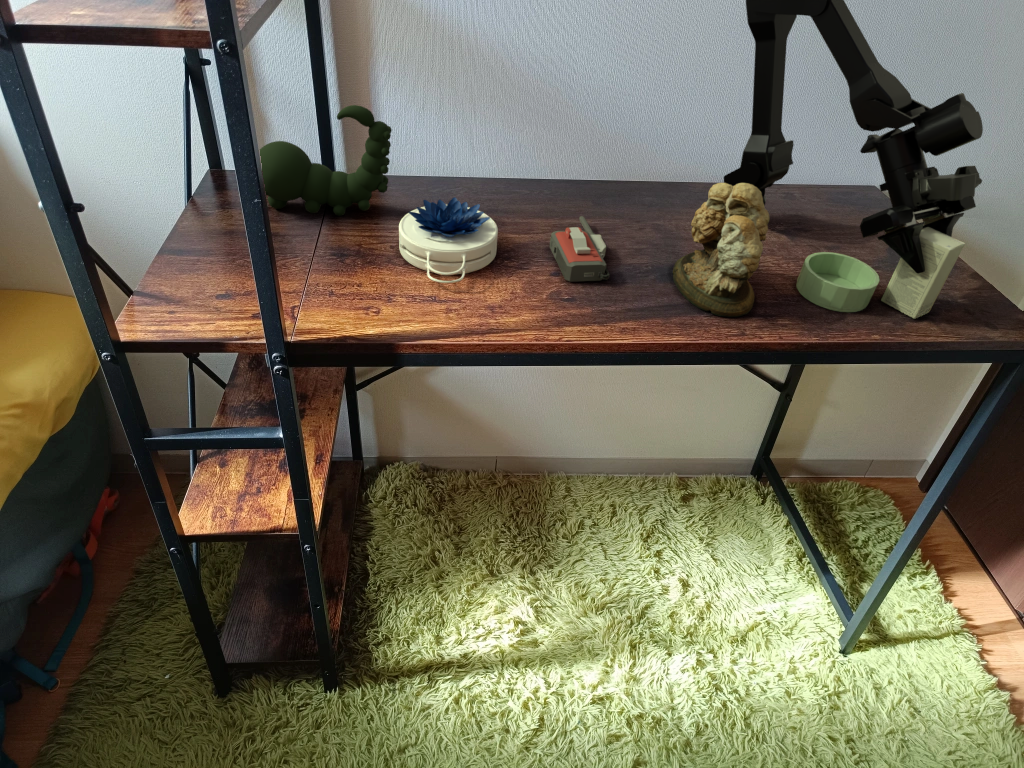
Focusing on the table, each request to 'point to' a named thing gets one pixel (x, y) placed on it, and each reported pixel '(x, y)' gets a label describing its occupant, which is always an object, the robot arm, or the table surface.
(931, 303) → the cosmetic box
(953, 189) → the robot arm
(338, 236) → the table surface
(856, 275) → the dish
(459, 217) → the white round gift box
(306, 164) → the toy figurine
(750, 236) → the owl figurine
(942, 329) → the table surface
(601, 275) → the walkie-talkie
